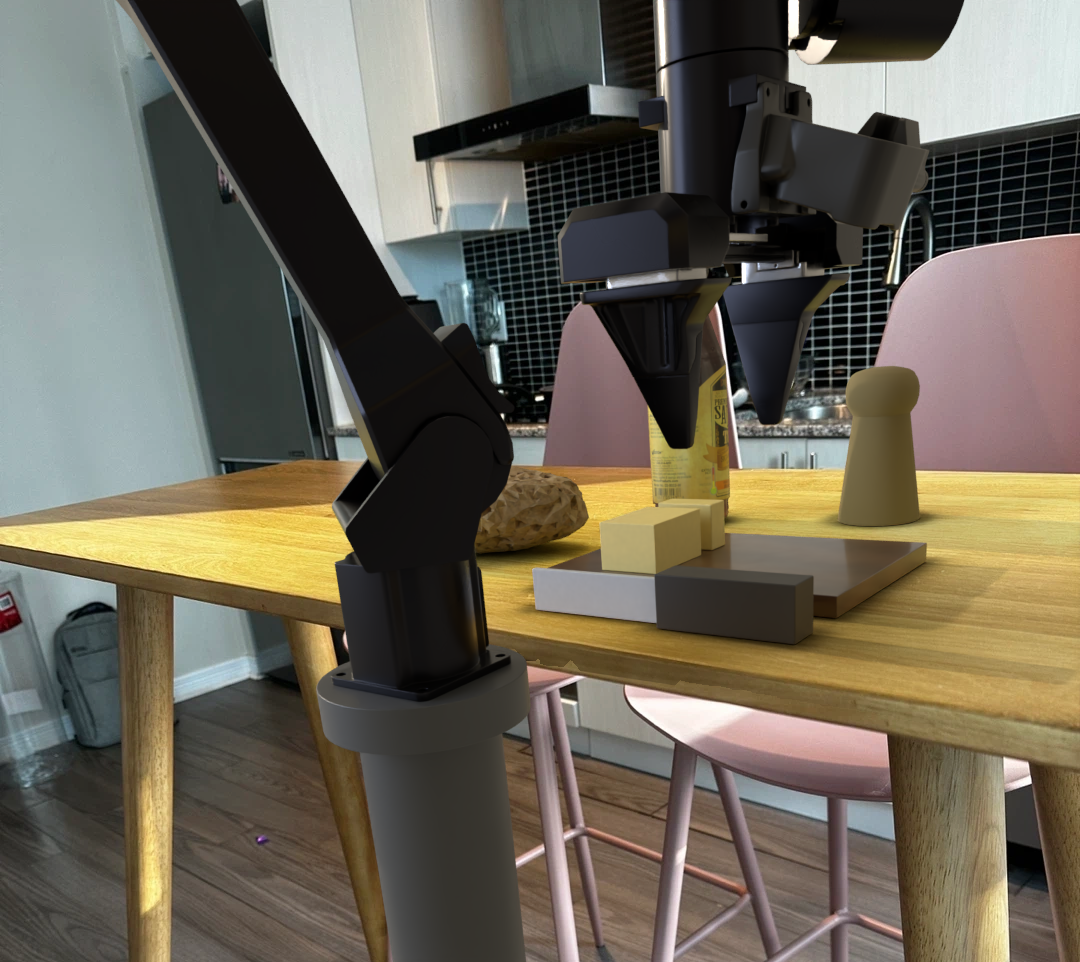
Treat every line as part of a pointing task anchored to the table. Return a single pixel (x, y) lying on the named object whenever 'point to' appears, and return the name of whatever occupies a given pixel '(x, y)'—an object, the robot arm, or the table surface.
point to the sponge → (531, 512)
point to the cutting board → (803, 564)
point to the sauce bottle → (697, 438)
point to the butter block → (650, 539)
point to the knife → (688, 600)
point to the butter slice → (705, 519)
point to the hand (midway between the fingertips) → (729, 435)
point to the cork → (880, 449)
